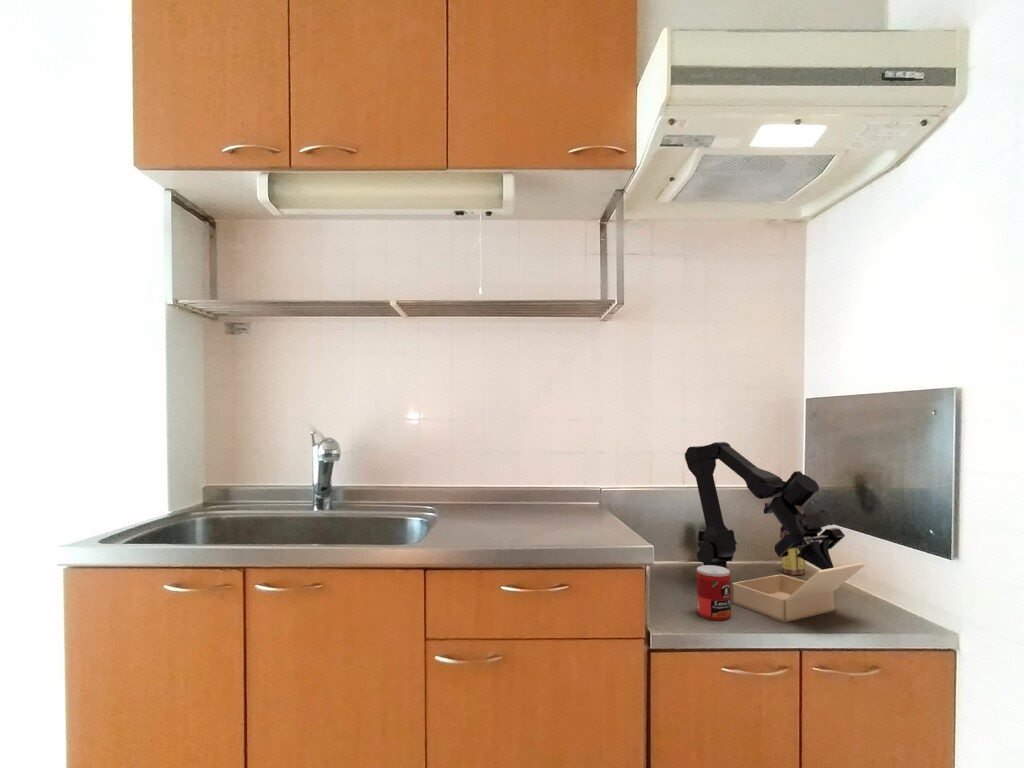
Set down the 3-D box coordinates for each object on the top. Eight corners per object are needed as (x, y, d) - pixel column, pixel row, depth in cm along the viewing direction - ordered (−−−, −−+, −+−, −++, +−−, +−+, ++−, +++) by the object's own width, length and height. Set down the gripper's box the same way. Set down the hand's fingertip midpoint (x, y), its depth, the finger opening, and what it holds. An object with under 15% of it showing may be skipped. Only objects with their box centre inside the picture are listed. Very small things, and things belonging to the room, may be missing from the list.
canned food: (715, 623, 140) (714, 575, 140) (690, 613, 147) (689, 567, 147) (738, 617, 143) (737, 571, 144) (713, 607, 150) (712, 563, 151)
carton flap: (818, 570, 133) (819, 572, 133) (864, 562, 140) (866, 563, 140) (786, 598, 140) (788, 600, 140) (832, 589, 147) (834, 591, 147)
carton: (732, 602, 154) (731, 583, 154) (781, 592, 162) (781, 574, 162) (784, 622, 140) (783, 600, 140) (836, 610, 147) (835, 589, 148)
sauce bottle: (800, 570, 184) (798, 505, 185) (808, 576, 178) (806, 508, 179) (778, 570, 185) (776, 505, 185) (785, 575, 178) (783, 508, 179)
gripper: (783, 500, 140) (827, 558, 130) (836, 495, 148) (882, 549, 138) (756, 528, 147) (797, 586, 136) (809, 521, 155) (850, 575, 144)
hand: (832, 573), depth 138 cm, fingers closed
